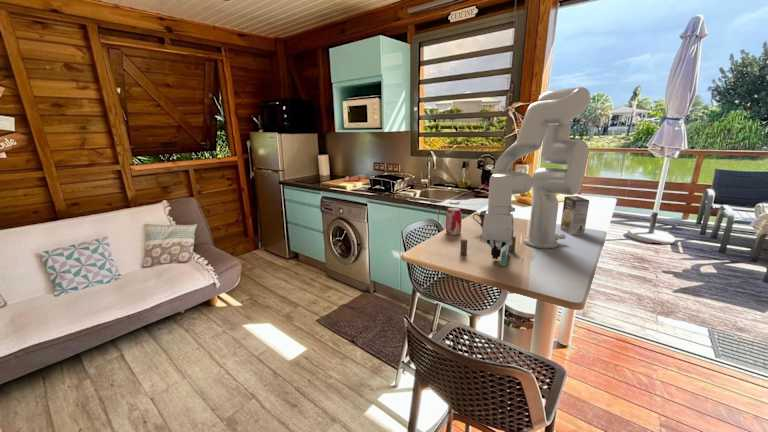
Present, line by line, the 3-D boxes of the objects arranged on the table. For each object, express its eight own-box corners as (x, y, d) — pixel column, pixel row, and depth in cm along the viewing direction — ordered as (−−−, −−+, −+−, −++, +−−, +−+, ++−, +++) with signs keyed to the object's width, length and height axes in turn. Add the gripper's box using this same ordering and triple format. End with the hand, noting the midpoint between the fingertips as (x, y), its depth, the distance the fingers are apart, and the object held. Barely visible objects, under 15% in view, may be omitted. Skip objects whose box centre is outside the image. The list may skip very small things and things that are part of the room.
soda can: (461, 236, 139) (462, 210, 136) (445, 235, 141) (446, 210, 138) (460, 231, 146) (461, 207, 143) (445, 230, 148) (446, 206, 144)
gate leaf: (504, 251, 119) (504, 241, 118) (508, 252, 118) (509, 242, 117) (500, 265, 106) (501, 254, 105) (505, 266, 106) (506, 255, 105)
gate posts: (512, 250, 121) (513, 235, 120) (515, 252, 119) (517, 237, 117) (459, 253, 119) (460, 239, 118) (461, 255, 117) (462, 241, 115)
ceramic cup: (499, 230, 145) (501, 210, 143) (502, 237, 136) (504, 216, 133) (471, 229, 148) (472, 209, 146) (472, 236, 139) (473, 215, 136)
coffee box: (559, 229, 145) (563, 196, 141) (573, 228, 145) (577, 195, 141) (570, 235, 136) (575, 200, 132) (585, 234, 136) (590, 199, 132)
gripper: (523, 209, 106) (519, 258, 110) (480, 205, 114) (478, 250, 118) (519, 214, 100) (515, 265, 104) (474, 209, 108) (472, 257, 112)
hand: (495, 257), depth 111 cm, fingers closed
